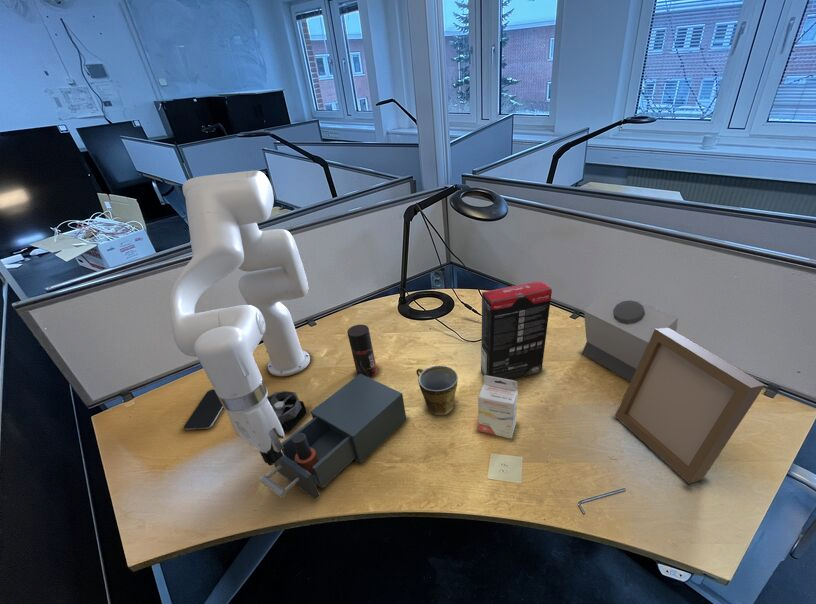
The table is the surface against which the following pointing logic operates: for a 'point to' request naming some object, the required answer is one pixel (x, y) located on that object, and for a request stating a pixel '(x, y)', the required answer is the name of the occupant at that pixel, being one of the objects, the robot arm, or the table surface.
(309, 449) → the nail polish bottle
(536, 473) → the table surface
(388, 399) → the cabinet
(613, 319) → the alarm clock
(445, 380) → the ceramic cup
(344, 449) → the drawer
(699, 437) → the photo frame
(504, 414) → the ink cartridge box
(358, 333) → the deodorant
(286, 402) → the cpu cooler
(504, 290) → the graphics card box
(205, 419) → the smartphone
